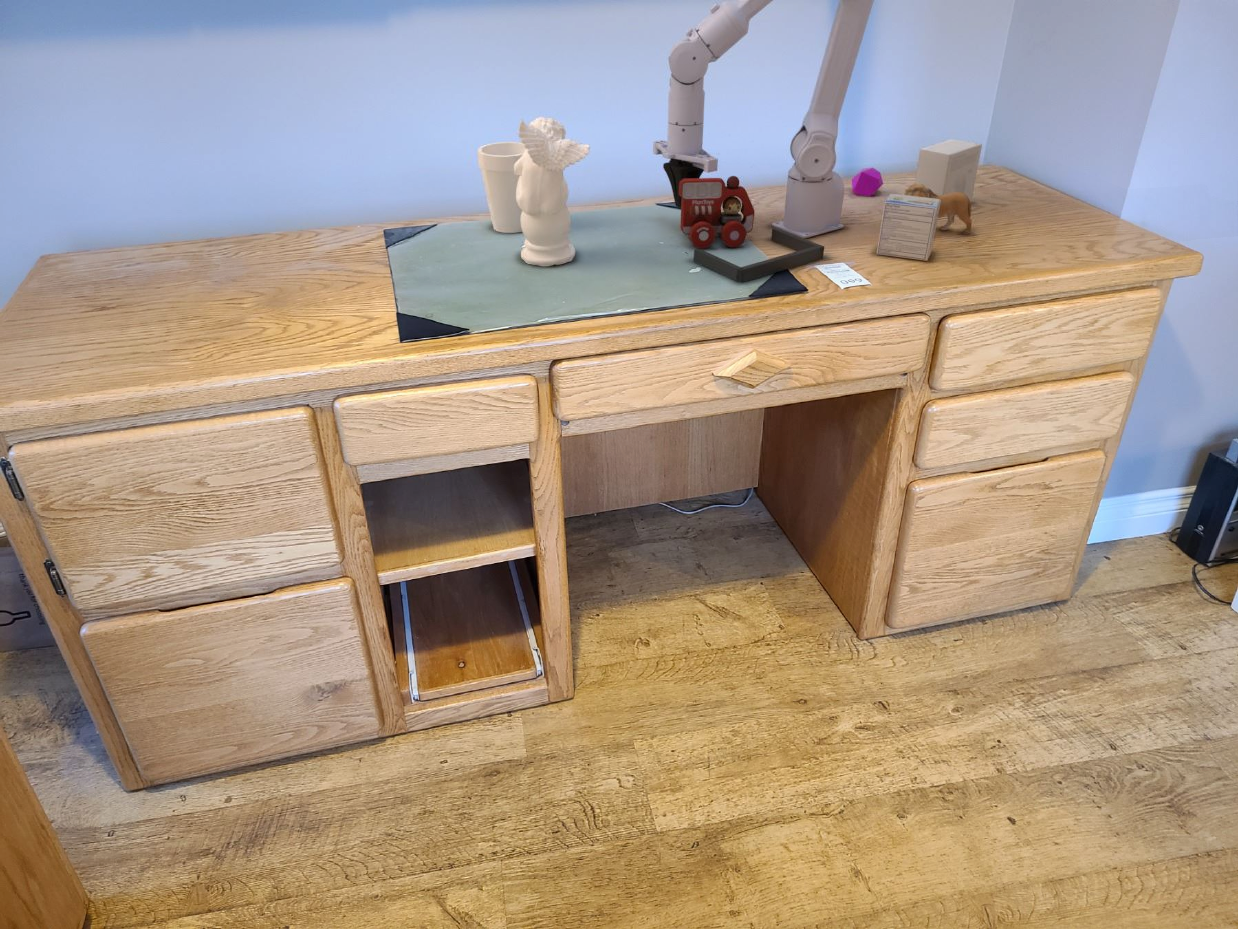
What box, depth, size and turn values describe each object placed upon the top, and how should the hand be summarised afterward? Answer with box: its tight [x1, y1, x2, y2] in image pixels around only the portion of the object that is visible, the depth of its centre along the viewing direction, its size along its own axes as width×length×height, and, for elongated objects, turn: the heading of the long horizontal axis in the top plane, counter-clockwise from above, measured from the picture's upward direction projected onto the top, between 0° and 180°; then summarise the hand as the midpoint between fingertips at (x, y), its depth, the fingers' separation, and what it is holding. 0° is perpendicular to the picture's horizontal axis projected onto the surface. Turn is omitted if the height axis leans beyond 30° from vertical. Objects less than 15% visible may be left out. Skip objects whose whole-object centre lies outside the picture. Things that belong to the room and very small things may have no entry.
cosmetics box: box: [914, 138, 983, 204], centre depth 159 cm, size 10×6×10 cm, turn 131°
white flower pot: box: [477, 141, 527, 234], centre depth 150 cm, size 10×9×13 cm
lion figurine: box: [903, 183, 973, 235], centre depth 147 cm, size 15×5×9 cm, turn 113°
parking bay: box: [693, 227, 825, 284], centre depth 139 cm, size 17×11×2 cm, turn 125°
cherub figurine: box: [514, 116, 591, 267], centre depth 134 cm, size 12×12×22 cm
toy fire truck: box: [679, 175, 755, 249], centre depth 144 cm, size 7×12×10 cm, turn 96°
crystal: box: [851, 167, 884, 197], centre depth 168 cm, size 5×5×5 cm
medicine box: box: [876, 193, 941, 262], centre depth 139 cm, size 8×4×9 cm, turn 65°
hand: (682, 205), depth 151 cm, fingers closed
